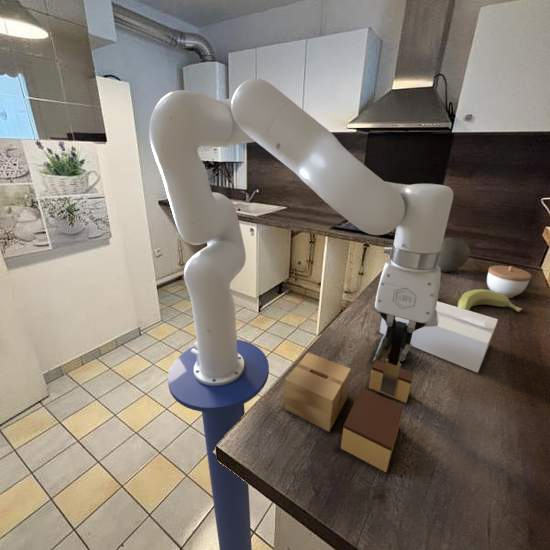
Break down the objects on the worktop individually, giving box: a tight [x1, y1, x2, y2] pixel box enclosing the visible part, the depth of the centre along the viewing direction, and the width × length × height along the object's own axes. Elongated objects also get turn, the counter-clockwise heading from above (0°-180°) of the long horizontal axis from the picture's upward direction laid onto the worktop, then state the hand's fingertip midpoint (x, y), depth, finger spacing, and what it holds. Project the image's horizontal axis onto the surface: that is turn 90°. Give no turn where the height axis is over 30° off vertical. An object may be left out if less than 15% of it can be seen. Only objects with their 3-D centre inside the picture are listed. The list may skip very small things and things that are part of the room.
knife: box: [380, 321, 407, 396], centre depth 60 cm, size 3×2×18 cm
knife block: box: [284, 352, 352, 432], centre depth 60 cm, size 10×10×8 cm
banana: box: [457, 288, 523, 314], centre depth 98 cm, size 14×6×20 cm
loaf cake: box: [340, 387, 405, 473], centre depth 53 cm, size 8×10×6 cm
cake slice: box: [368, 359, 415, 404], centre depth 64 cm, size 8×3×6 cm, turn 57°
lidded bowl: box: [486, 265, 533, 299], centre depth 108 cm, size 13×13×11 cm
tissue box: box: [379, 300, 499, 374], centre depth 81 cm, size 14×25×11 cm, turn 47°
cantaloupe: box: [437, 236, 471, 273], centre depth 128 cm, size 14×14×15 cm
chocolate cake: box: [372, 331, 413, 363], centre depth 76 cm, size 10×7×12 cm
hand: (397, 342), depth 59 cm, fingers closed on knife, 1 cm apart
